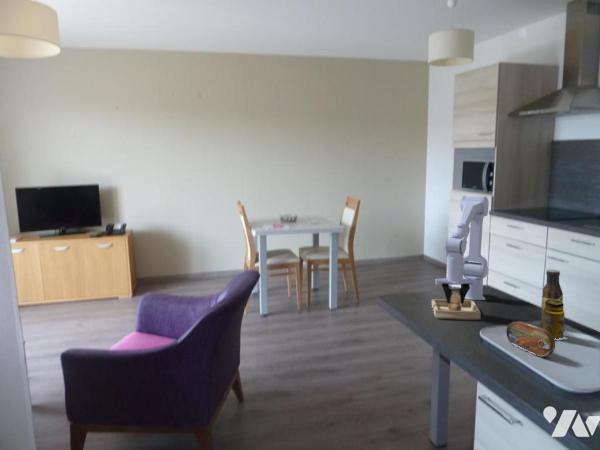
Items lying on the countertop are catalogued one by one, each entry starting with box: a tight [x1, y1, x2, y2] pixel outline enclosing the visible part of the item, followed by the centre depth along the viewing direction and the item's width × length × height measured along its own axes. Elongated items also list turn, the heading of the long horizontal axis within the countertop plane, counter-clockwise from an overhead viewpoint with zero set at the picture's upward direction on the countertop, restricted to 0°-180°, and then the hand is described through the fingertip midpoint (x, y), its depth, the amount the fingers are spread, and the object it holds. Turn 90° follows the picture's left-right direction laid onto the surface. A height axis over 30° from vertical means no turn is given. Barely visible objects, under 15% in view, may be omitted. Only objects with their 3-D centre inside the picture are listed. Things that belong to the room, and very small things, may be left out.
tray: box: [430, 298, 482, 321], centre depth 165 cm, size 14×16×3 cm
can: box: [448, 286, 462, 311], centre depth 165 cm, size 5×5×8 cm
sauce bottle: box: [541, 269, 564, 325], centre depth 149 cm, size 6×6×20 cm
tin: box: [506, 320, 556, 358], centre depth 131 cm, size 15×3×8 cm, turn 25°
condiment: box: [541, 300, 565, 339], centre depth 140 cm, size 7×8×12 cm
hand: (454, 302), depth 165 cm, fingers closed on can, 5 cm apart
